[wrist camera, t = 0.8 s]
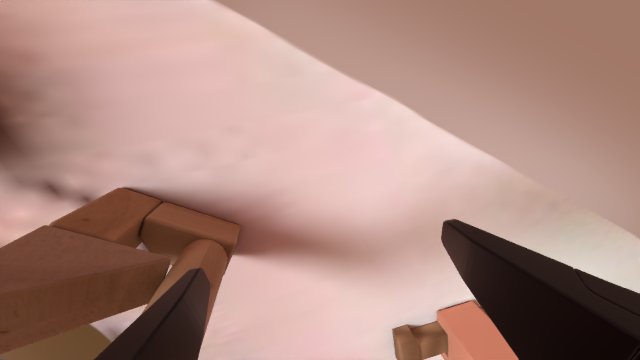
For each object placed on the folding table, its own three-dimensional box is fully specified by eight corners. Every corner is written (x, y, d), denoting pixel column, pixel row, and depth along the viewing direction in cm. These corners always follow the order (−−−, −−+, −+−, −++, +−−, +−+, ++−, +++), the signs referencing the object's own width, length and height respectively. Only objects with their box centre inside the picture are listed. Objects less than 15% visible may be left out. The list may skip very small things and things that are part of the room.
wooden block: (119, 184, 21) (-567, 533, 4) (242, 224, 24) (158, 521, 7) (108, 221, 22) (-509, 650, 5) (229, 255, 24) (124, 595, 8)
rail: (396, 359, 33) (416, 401, 28) (392, 326, 31) (412, 365, 26) (524, 317, 35) (562, 350, 30) (527, 284, 33) (569, 314, 28)
